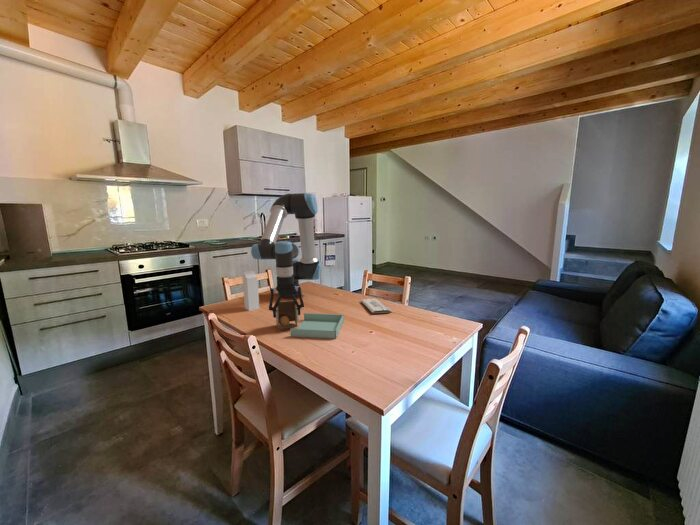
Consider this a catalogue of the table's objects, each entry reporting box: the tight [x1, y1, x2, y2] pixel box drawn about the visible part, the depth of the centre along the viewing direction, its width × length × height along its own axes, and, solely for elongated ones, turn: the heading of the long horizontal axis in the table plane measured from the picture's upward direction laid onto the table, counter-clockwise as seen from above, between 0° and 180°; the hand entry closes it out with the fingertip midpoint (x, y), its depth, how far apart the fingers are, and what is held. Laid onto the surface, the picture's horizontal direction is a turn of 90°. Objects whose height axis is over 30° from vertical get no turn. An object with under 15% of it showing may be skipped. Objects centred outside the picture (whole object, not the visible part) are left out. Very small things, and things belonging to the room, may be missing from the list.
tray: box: [289, 312, 345, 340], centre depth 131 cm, size 20×20×4 cm
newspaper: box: [360, 298, 393, 314], centre depth 161 cm, size 23×12×2 cm, turn 14°
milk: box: [242, 269, 260, 312], centre depth 157 cm, size 6×6×22 cm
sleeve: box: [276, 300, 298, 330], centre depth 132 cm, size 8×8×10 cm
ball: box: [279, 316, 291, 326], centre depth 134 cm, size 5×5×5 cm
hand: (287, 322), depth 133 cm, fingers closed on sleeve, 8 cm apart
